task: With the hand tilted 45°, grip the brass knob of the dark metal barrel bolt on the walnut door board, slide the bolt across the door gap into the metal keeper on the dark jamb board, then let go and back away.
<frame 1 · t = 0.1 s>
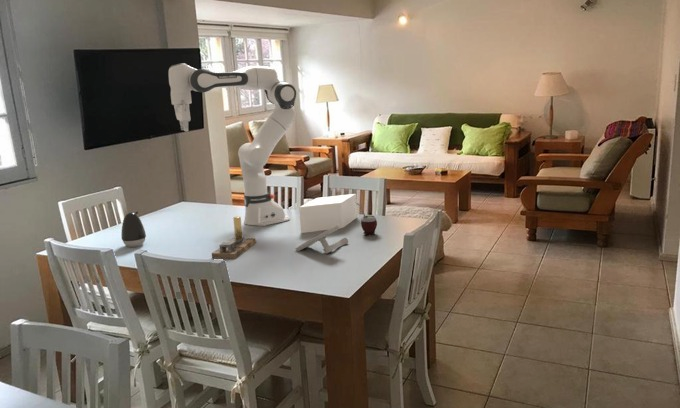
hand: (184, 130, 261), 48 cm above the table, tool pointing down, fingers open, 8 cm apart
block: (330, 225, 270), on the table
door handle: (324, 249, 235), on the table
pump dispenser: (135, 245, 253), on the table
bolt: (236, 230, 239), point 8 cm above the table, slide at 0.0 cm
door and jamb: (233, 250, 237), on the table
mate gourd: (368, 234, 251), on the table
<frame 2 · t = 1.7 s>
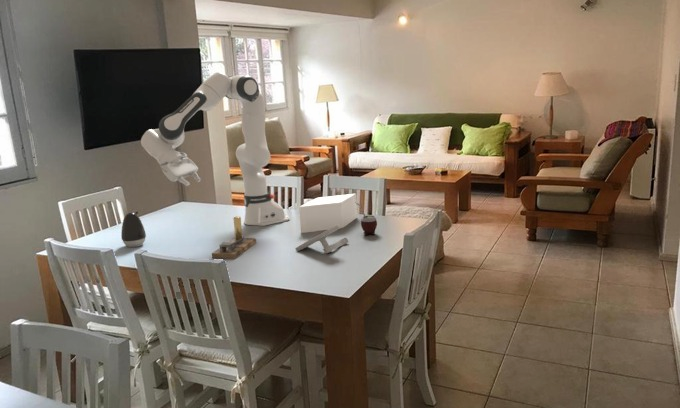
hand: (194, 183, 245), 27 cm above the table, tool tilted 45°, fingers open, 8 cm apart
nothing on the table moved.
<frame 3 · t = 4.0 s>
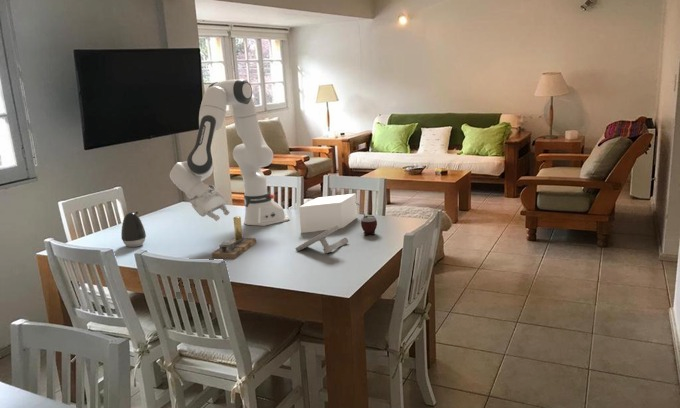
hand: (223, 216, 241), 13 cm above the table, tool tilted 45°, fingers open, 8 cm apart
nothing on the table moved.
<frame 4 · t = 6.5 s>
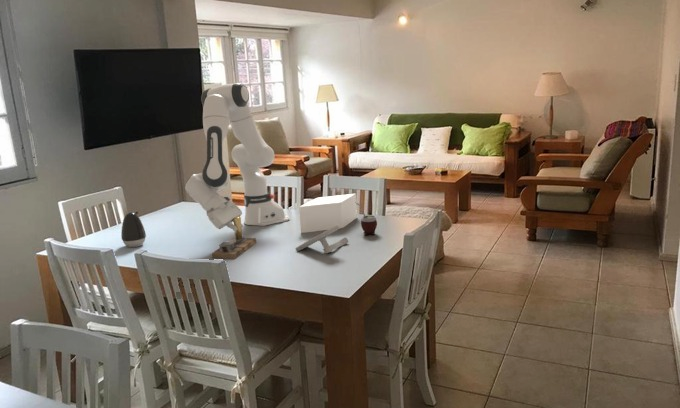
hand: (239, 228, 241), 8 cm above the table, tool tilted 45°, fingers closed on bolt, 3 cm apart
bolt: (236, 230, 239), point 8 cm above the table, slide at 0.0 cm, touching gripper
everything else where it was.
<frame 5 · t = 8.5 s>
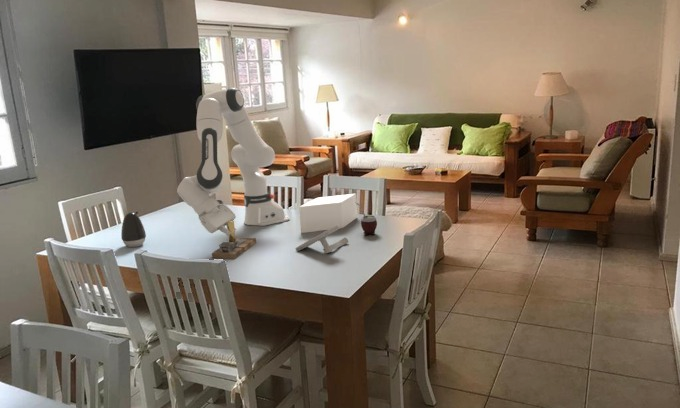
hand: (232, 232, 234), 8 cm above the table, tool tilted 45°, fingers closed on bolt, 3 cm apart
bolt: (229, 234, 233), point 8 cm above the table, slide at 6.8 cm, touching gripper
everything else where it was.
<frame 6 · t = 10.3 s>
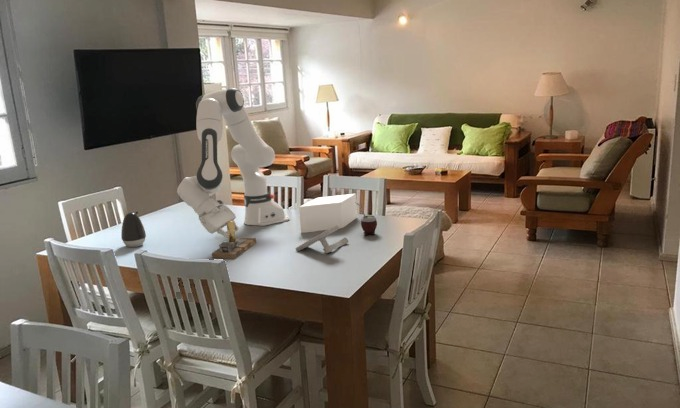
hand: (232, 233, 235), 8 cm above the table, tool tilted 45°, fingers open, 8 cm apart
bolt: (229, 234, 233), point 8 cm above the table, slide at 6.8 cm
everything else where it was.
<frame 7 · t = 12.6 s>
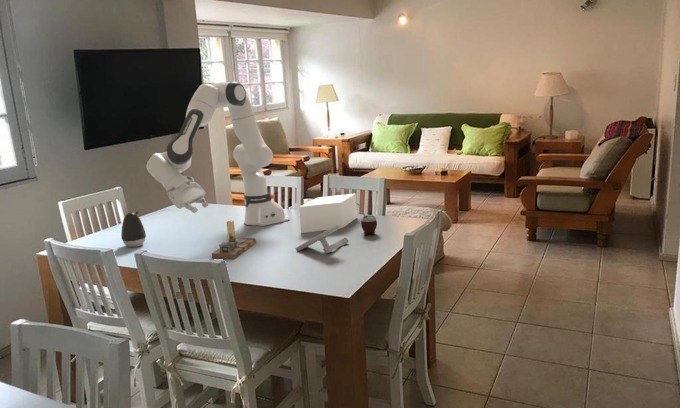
hand: (201, 209, 236), 18 cm above the table, tool tilted 45°, fingers open, 8 cm apart
nothing on the table moved.
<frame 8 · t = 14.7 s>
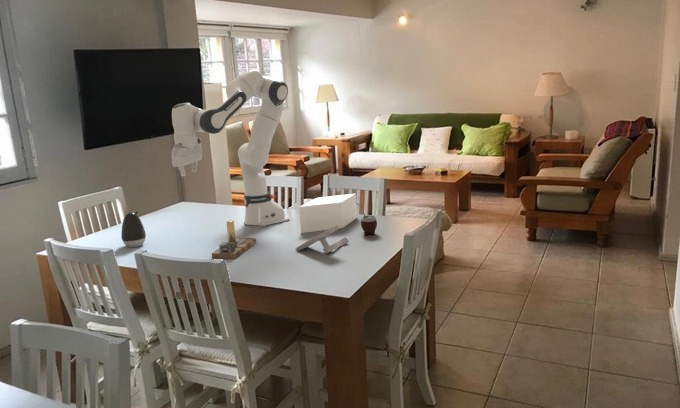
hand: (189, 174, 244), 31 cm above the table, tool pointing down, fingers open, 8 cm apart
nothing on the table moved.
at the end: bolt slide at 6.8 cm; the gripper is holding nothing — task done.
